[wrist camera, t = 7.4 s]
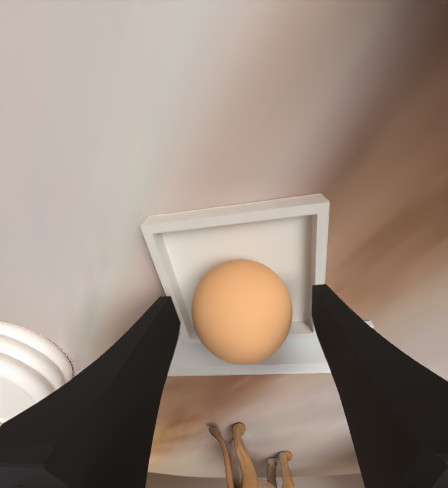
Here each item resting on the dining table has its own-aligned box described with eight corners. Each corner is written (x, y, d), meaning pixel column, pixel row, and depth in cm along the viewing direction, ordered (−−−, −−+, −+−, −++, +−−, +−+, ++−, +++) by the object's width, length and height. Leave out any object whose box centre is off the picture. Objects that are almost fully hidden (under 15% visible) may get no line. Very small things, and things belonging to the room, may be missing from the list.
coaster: (72, 333, 18) (38, 376, 15) (78, 394, 23) (53, 436, 20) (-56, 302, 18) (-119, 340, 15) (-22, 372, 23) (-64, 411, 20)
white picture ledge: (366, 340, 16) (386, 376, 14) (164, 349, 18) (154, 380, 16) (370, 320, 15) (392, 355, 13) (157, 332, 17) (144, 363, 15)
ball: (285, 305, 15) (304, 385, 10) (208, 311, 15) (196, 389, 11) (281, 236, 12) (304, 303, 8) (190, 247, 13) (166, 314, 8)
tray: (315, 321, 15) (321, 338, 14) (188, 328, 17) (184, 343, 16) (321, 192, 11) (329, 202, 10) (149, 215, 12) (139, 225, 11)
